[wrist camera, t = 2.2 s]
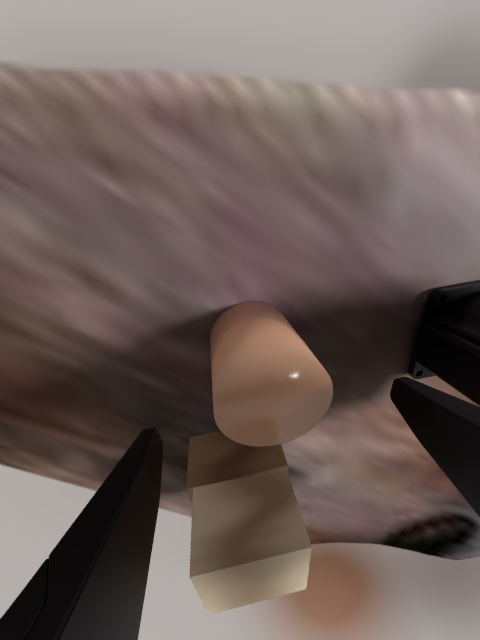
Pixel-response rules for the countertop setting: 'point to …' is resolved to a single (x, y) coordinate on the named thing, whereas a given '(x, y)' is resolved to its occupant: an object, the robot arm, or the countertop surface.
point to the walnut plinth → (227, 460)
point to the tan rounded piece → (264, 377)
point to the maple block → (247, 541)
